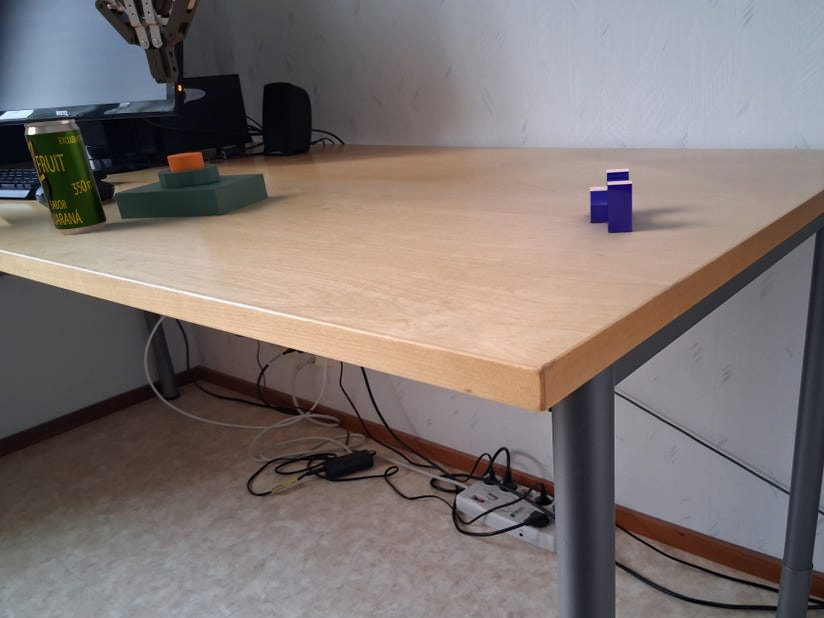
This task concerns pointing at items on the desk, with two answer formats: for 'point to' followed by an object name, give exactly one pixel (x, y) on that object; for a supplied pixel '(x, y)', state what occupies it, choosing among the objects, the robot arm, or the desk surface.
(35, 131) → the soda can
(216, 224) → the desk surface
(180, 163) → the orange push button
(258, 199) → the button base
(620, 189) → the cable holder
